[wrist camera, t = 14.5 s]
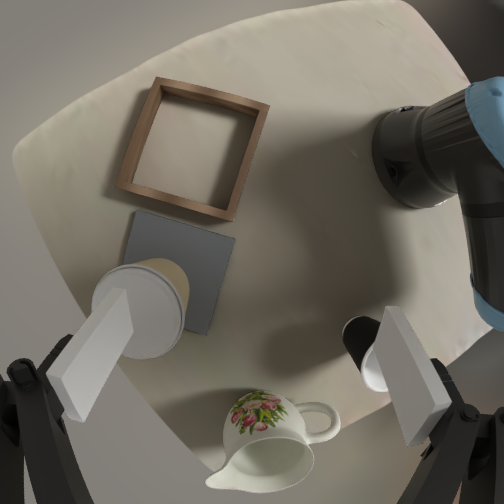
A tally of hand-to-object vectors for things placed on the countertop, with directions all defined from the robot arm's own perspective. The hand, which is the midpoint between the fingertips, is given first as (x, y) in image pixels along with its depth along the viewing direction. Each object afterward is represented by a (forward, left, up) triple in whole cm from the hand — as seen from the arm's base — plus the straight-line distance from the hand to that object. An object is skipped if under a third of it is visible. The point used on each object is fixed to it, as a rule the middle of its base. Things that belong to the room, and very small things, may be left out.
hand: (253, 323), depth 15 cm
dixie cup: (-19, +5, -25) cm, 32 cm away
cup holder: (+10, -12, -25) cm, 29 cm away
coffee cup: (+8, +6, -24) cm, 26 cm away
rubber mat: (+8, +4, -25) cm, 26 cm away
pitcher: (-10, +20, -25) cm, 34 cm away
